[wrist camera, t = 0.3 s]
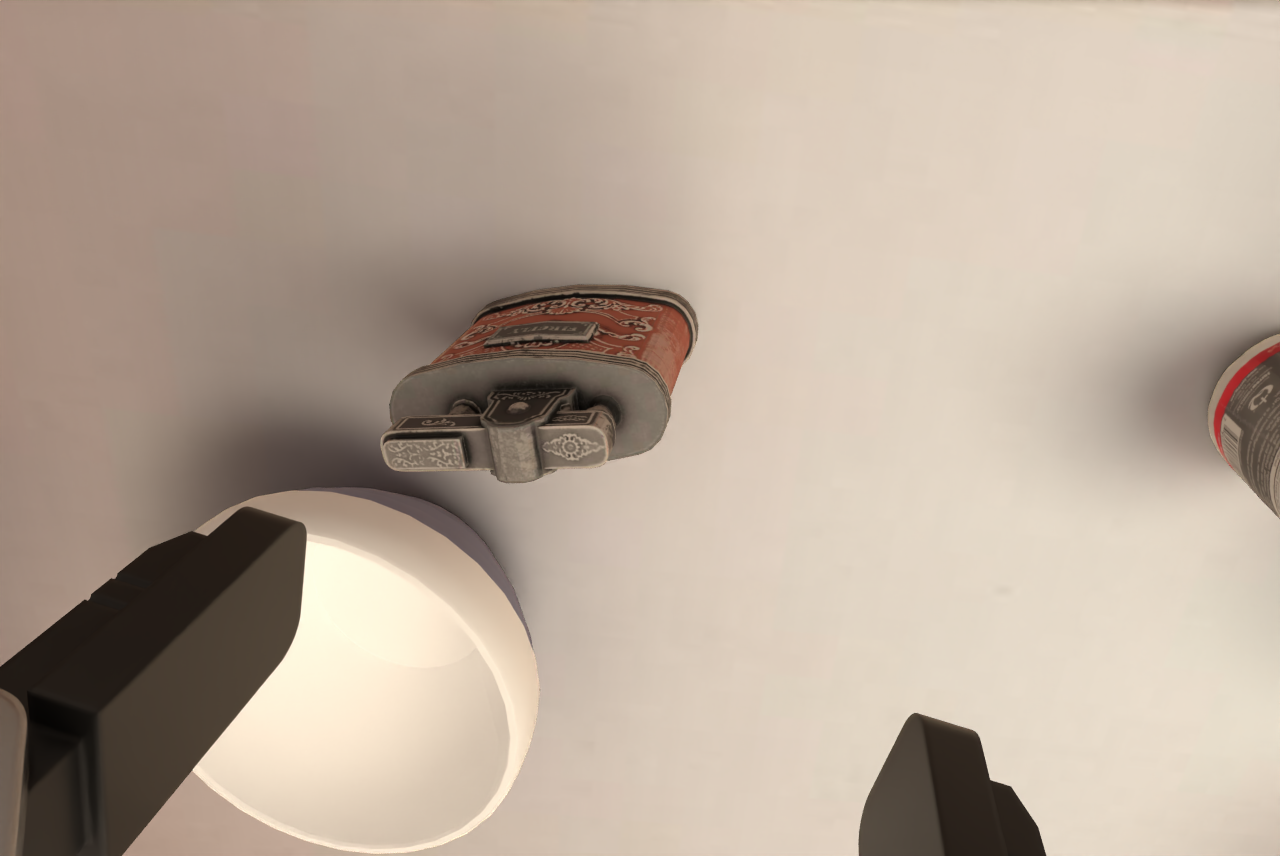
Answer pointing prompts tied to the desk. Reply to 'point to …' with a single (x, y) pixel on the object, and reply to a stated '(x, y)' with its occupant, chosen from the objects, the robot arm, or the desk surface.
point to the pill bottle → (1251, 419)
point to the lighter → (546, 384)
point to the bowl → (384, 681)
